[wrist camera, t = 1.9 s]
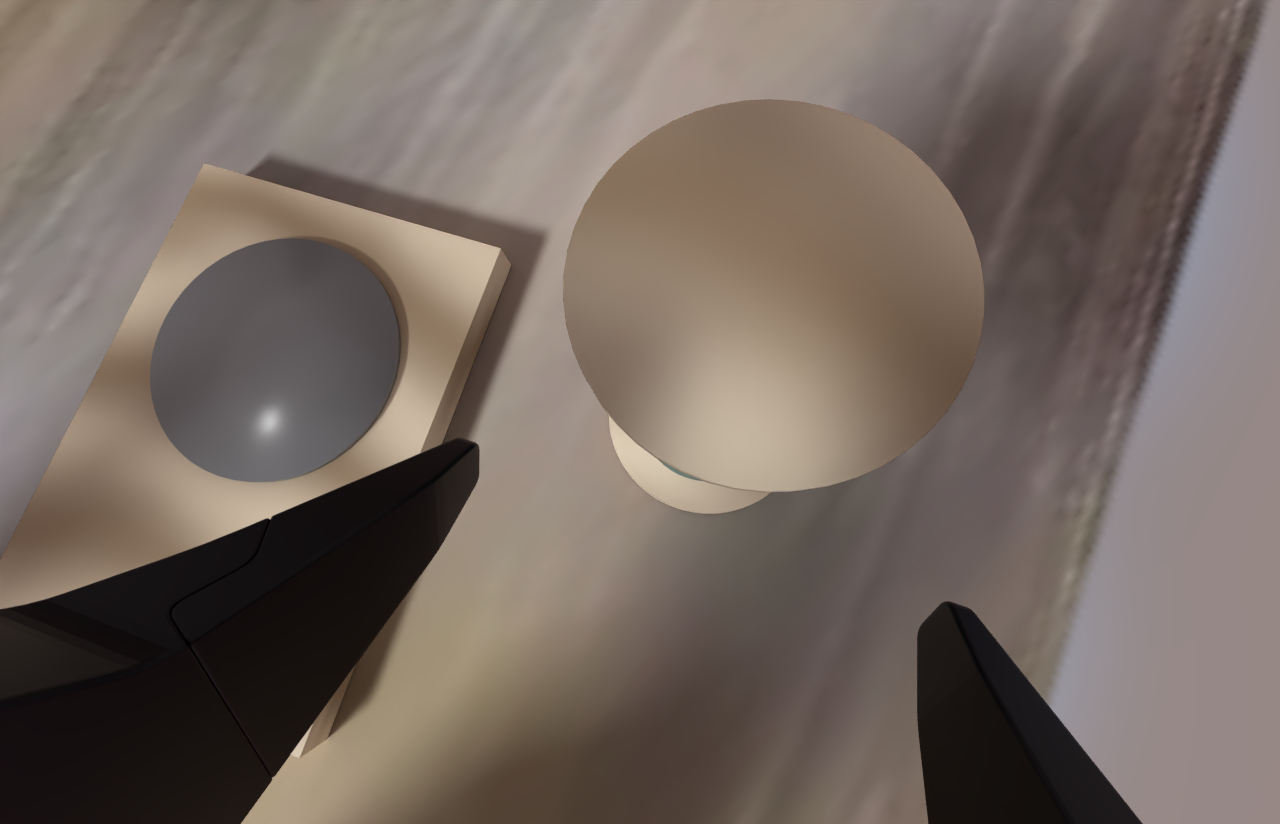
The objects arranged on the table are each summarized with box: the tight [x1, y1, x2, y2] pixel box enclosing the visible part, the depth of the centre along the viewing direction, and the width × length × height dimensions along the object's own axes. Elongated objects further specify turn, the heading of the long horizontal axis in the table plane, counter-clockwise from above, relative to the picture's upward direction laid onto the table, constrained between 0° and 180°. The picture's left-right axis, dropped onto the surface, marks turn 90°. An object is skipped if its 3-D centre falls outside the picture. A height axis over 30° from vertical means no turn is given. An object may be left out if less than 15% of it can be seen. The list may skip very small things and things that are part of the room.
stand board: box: [0, 164, 511, 758], centre depth 21 cm, size 20×14×2 cm
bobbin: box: [563, 99, 984, 514], centre depth 15 cm, size 8×8×13 cm
